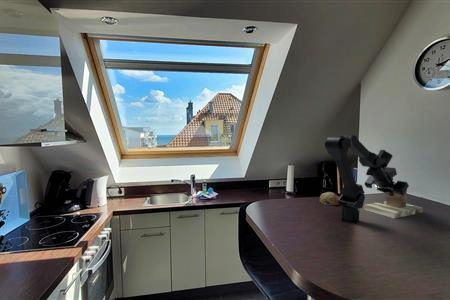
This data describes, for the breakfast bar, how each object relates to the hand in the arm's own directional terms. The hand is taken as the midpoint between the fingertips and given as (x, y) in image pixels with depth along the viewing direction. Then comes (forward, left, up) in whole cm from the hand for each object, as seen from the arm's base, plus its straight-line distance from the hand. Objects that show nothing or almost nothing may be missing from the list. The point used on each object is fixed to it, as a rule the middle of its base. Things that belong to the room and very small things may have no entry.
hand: (392, 195), depth 133 cm
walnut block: (+2, +3, -5) cm, 6 cm away
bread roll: (-29, +1, -8) cm, 30 cm away
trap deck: (+1, +1, -8) cm, 8 cm away
